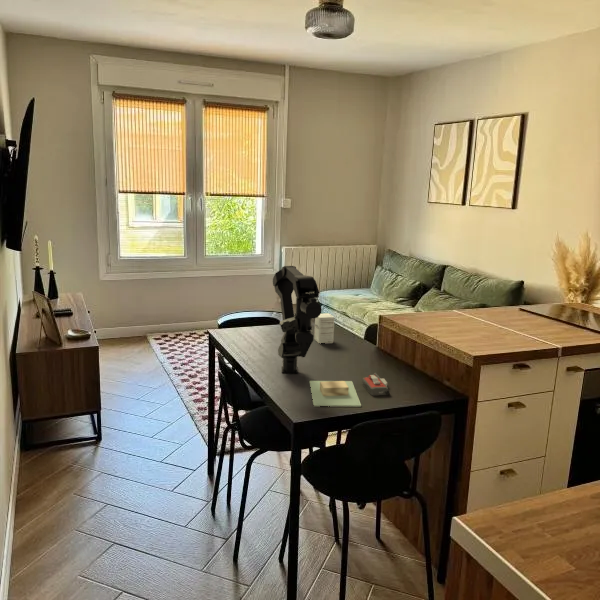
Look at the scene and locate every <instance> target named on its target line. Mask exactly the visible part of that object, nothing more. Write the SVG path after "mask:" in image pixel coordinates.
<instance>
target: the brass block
mask: <svg viewBox="0 0 600 600" xmlns="http://www.w3.org/2000/svg"><path fill="white" fill-rule="evenodd" d="M325 381H326V382H320V391H321V393H322V395H323V396H342V395H348V390H349V387H348V385H347V384H346V382H345V381H346V380H325Z"/></svg>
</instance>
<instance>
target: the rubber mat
mask: <svg viewBox="0 0 600 600" xmlns="http://www.w3.org/2000/svg"><path fill="white" fill-rule="evenodd" d="M326 381H327V380H309V382H308V383H309V387H311V388H310V393H312V394H311V399H313V400H312V404H313V405H314V406H313V407H320V406H328V407H329V406H330V407H331V408H332V407H337V408H338V407H342V408H343V407H345V408H346V407H347V408H349V407H351V408H353V407H354V408H355V407H357V408H358V407H359V408H361V407H362V404H361V401H360V399H359V396H358V394H357V390H356V388H355V386H354V383H353V381H352V380H344V381H345V382H346V384H347V385H348V387H349V390H348V395H342V396H323V395H322V393H321V391H320V382H326Z"/></svg>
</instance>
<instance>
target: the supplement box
mask: <svg viewBox="0 0 600 600" xmlns="http://www.w3.org/2000/svg"><path fill="white" fill-rule="evenodd" d="M334 334H335V316H333V315H332V314H331V313H328V312H327V313H325V312H324V313H321V314H320V315H319V316H318V317H317V318H314V334H313V336H314V337H313V340H314V341H316V342H317V343H318V344H319V343H320V344H321V343H325V344H333V343H334V337H335V336H334ZM320 344H319V345H320ZM321 345H322V344H321Z"/></svg>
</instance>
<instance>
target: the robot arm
mask: <svg viewBox="0 0 600 600" xmlns="http://www.w3.org/2000/svg"><path fill="white" fill-rule="evenodd" d="M272 285H273V288H274V291H275V293H276V294H277V295H278V297H279V299H280V300H279V301H280V308H281V309H280V310H281V316H282V320H280V321H279V325H280V329H281V331H282V333H283V335H282V337H281V339H280V345H279V347H278V349H277V354H278V356H279V357H280V358H281V359H282V366H281V374H299V367H298V358H299V357H301V358H306V356H307V353H308V351H309V350H310V347H311V345H312V343H313V342H314V333H313V332H312V330H313V329H312V328H313V327H312V319H315V318H317V317H318V316H319V315H320V314H322V310H323V309H322V305H321V304H320V303H319V302H317V299H318V298H320V295H319V294H320V291H319V287H318V284H317V280H316V279H315V278H314V277H313V276H311V275H306V274H305V275H304V274H303V273H302V272H301V271H300V270H298V269H297V267H296V266H294V265H284V266H282V267H281V269H280V270H278V271H276V272H275V273H274V275H273V278H272ZM293 292H294V295H295V312H294V304H293V297H292V295H293Z"/></svg>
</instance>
